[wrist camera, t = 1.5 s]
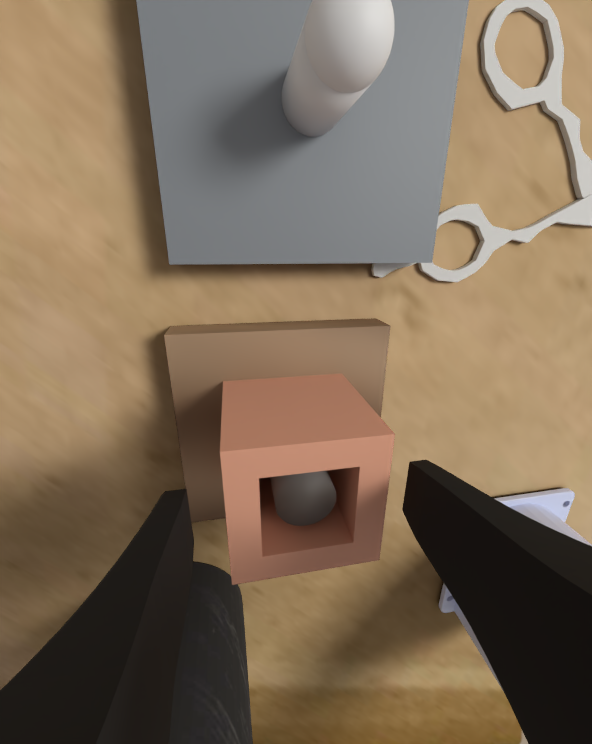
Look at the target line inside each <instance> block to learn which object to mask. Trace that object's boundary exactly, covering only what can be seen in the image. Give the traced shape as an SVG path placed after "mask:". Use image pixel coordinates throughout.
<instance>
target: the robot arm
mask: <svg viewBox="0 0 592 744" xmlns="http://www.w3.org/2000/svg"><path fill="white" fill-rule="evenodd" d="M574 496H575V494H574V492H573V491H571V490H570V489H568V488H562V489H555V490H548V491H542V492H535V493H528V494H521V495H514V496H507V497H500V498H492V497H490V496H488V495H487V494H485V493H483V492H481V491H480V490H478V489H476V488H475V487H473V486H471V485H469V484H468V483H466V482H464V481H463V480H461V479H459V478H458V477H456V476H454V475H453V474H451V473H449V472H447V471H446V470H444V469H442V468H441V467H439V466H437V465H435V464H433V463H431V462H429V461H428V460H421V461H413V462H410V463H409V469H408V476H407V483H406V489H405V496H404V503H403V509H402V510H403V512H404V515H405V517H406V519H407V521H408V523H409V526H410V528H411V530H412V532H413V534H414V536H415V538H416V540H417V541H418V543H419V545H420V546H421V548H422V549H423V551H424V553H425V554H426V556H427V557H428V559H429V561H430V562H431V564H432V565H433V567H434V568H435V570H436V572H437V573H438V575H439V576H440V578H441V579H442V581H443V582H444V583H443V588H442V592H441V596H440V601H439V608H440V610H441V611H442V612H443V613H449V612H454V611H455V613H456V615H457V616H458V618H459V620H460V621H461V623H462V624H463V626H464V628H465V629H466V631H467V633H468V634H469V636H470V637H471V639H472V641H473V642H474V644H475V646H476V647H477V649H478V651H479V652H480V654H481V655H482V657H483V659H484V660H485V662H486V664H487V665H488V667H489V668H490V670H491V672H492V673H493V675H494V677H495V678H496V680H497V681H498V683H499V685H500V686H501V688H502V690H503V691H504V693H505V695H506V697H507V699H508V701H509V703H510V705H511V707H512V709H513V711H514V714H515V716H516V718H517V720H518V722H519V724H520V726H521V729H522V731H523V733H524V735H525V737H526V739H527V741H528V744H592V545H591V544H590V543H589V542H588V541H587V540H585V539H584V538H583V537H582V536H581V535H579V534H578V533H577V532H576V531H574V530H573V529H572V528H571V527H570V526H568V525H567V524H566V523H565V521H566V518H567V515H568V513H569V510H570V507H571V505H572V502H573V499H574ZM193 548H194V538H193V531H192V524H191V517H190V509H189V502H188V495H187V489H181V490H173V491H165V492H164V493H163V494H162V495H161V497H160V499H159V500H158V502H157V504H156V505H155V507H154V508H153V510H152V512H151V513H150V515H149V516H148V518H147V519H146V521H145V522H144V524H143V525H142V527H141V528H140V530H139V531H138V533H137V534H136V535H135V537H134V538H133V540H132V541H131V542H130V544H129V545H128V547H127V548H126V550H125V551H124V552H123V554H122V555H121V556H120V558H119V559H118V560H117V562H116V563H115V564H114V565H113V567H112V568H111V569H110V571H109V572H108V573H107V574H106V576H105V577H104V578H103V580H102V581H101V582H100V583H99V585H98V586H97V587H96V588H95V590H94V591H93V592H92V593H91V594H90V596H89V597H88V598H87V599H86V600H85V602H84V603H83V604H82V605H81V606H80V607H79V609H78V610H77V611H76V612H75V613H74V614H73V615H72V617H71V618H70V619H69V620H68V621H67V622H66V623H65V624H64V626H63V627H62V628H61V629H60V630H59V631H58V632H57V633H56V634H55V635H54V636H53V637H52V638H51V639H50V640H49V642H48V643H47V644H46V645H45V646H44V647H43V648H42V649H41V650H40V651H39V652H38V653H37V654H36V655H35V656H34V657H33V658H32V659H31V660H30V662H29V663H28V664H27V665H26V666H25V667H24V668H23V669H22V670H21V671H20V672H19V673H18V674H17V675H16V676H15V677H14V678H13V679H12V680H11V681H10V682H9V683H8V684H7V685H5V686H4V687H3V688H2V689H1V690H0V744H169V736H170V725H171V713H172V702H173V691H174V683H175V675H176V668H177V662H178V656H179V650H180V644H181V638H182V632H183V626H184V620H185V614H186V608H187V602H188V596H189V590H190V584H191V578H192V565H193Z"/></svg>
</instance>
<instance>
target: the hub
mask: <svg viewBox="0 0 592 744" xmlns="http://www.w3.org/2000/svg"><path fill="white" fill-rule="evenodd" d="M136 2H137V10H138V18H139V26H140V34H141V42H142V50H143V58H144V66H145V74H146V82H147V90H148V98H149V106H150V114H151V122H152V130H153V138H154V146H155V154H156V162H157V170H158V178H159V186H160V194H161V202H162V210H163V218H164V226H165V234H166V242H167V250H168V258H169V265H173V264H325V263H432V258H433V251H434V244H435V237H436V230H437V223H438V216H439V209H440V202H441V194H442V187H443V180H444V173H445V166H446V159H447V152H448V145H449V138H450V130H451V123H452V116H453V109H454V102H455V95H456V88H457V81H458V74H459V66H460V59H461V52H462V45H463V38H464V31H465V24H466V17H467V9H468V2H469V0H136Z"/></svg>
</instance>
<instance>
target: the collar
mask: <svg viewBox="0 0 592 744" xmlns="http://www.w3.org/2000/svg"><path fill="white" fill-rule="evenodd" d="M394 438H395V434H394V433H393V431H392V430H391V429H390V428H389V427H388V426H387V425H386V423H385V422H384V421H383V420H382V419H381V418H380V416H379V415H378V414H377V413H376V412H375V411H374V410H373V408H372V407H371V406H370V405H369V404H368V403H367V402H366V400H365V399H364V398H363V397H362V396H361V395H360V394H359V392H358V391H357V390H356V389H355V388H354V387H353V386H352V384H351V383H350V382H349V381H348V380H347V379H346V378H345V376H344V375H343V374H342V373H341V374H326V375H311V376H296V377H281V378H266V379H250V380H235V381H223V392H222V415H221V438H220V458H221V469H222V480H223V491H224V502H225V513H226V524H227V535H228V546H229V557H230V568H231V579H232V585H235V584H241V583H247V582H252V581H258V580H264V579H270V578H276V577H282V576H288V575H294V574H300V573H305V572H311V571H317V570H323V569H329V568H335V567H341V566H347V565H353V564H359V563H364V562H370V561H376V560H379V558H380V550H381V542H382V534H383V526H384V518H385V510H386V502H387V494H388V486H389V478H390V470H391V462H392V454H393V446H394ZM326 470H327V471H328V474H329V476H330V478H331V481H332V483H333V485H334V488H335V490H336V503H335V505H334V507H333V509H332V511H331V512H330V513H329V514H328V515H327V516H326V517H325V518H323V519H322V520H320V521H318V522H316V523H314V524H311V525H306V526H295V525H291V524H288V523H286V522H284V521H283V520H282V519H281V518H280V517H279V516H278V514H277V512H276V508H275V502H274V497H273V491H272V485H271V480H270V477H275V476H283V475H292V474H301V473H309V472H318V471H326Z"/></svg>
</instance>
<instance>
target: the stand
mask: <svg viewBox="0 0 592 744" xmlns="http://www.w3.org/2000/svg"><path fill="white" fill-rule="evenodd" d="M389 334H390V325H388V324H386V323H384V322H382V321H380V320H378V319H349V320H322V321H295V322H268V323H241V324H214V325H187V326H170V328H169V329H168V330H167V332H166V333H165V335H164V338H165V345H166V353H167V360H168V367H169V374H170V381H171V388H172V395H173V402H174V409H175V417H176V424H177V431H178V438H179V445H180V452H181V459H182V466H183V473H184V481H185V488H186V489H187V495H188V502H189V509H190V517H191V523H192V522H199V521H207V520H214V519H221V518H226V513H225V502H224V491H223V480H222V469H221V458H220V438H221V415H222V392H223V381H235V380H250V379H266V378H281V377H296V376H311V375H326V374H341V373H342V374H343V375H344V376H345V378H346V379H347V380H348V381H349V382H350V383H351V384H352V386H353V387H354V388H355V389H356V390H357V391H358V392H359V394H360V395H361V396H362V397H363V398H364V399H365V400H366V402H367V403H368V404H369V405H370V406H371V407H372V408H373V410H374V411H375V412H376V413H377V414H378V415H379V416H380V418H381V410H382V400H383V391H384V381H385V372H386V362H387V353H388V343H389ZM270 480H271V485H272V491H273V497H274V502H275V508H276V512H277V514H278V516H279V517H280V518H281V519H282V520H283V521H284V522H286V523H288V524H291V525H295V526H306V525H311V524H314V523H316V522H318V521H320V520H322V519H323V518H325V517H326V516H327V515H328V514H329V513H330V512H331V511H332V509H333V507H334V505H335V503H336V490H335V488H334V485H333V483H332V481H331V478H330V476H329V474H328V471H327V470H326V471H318V472H309V473H301V474H292V475H283V476H275V477H270Z"/></svg>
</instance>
